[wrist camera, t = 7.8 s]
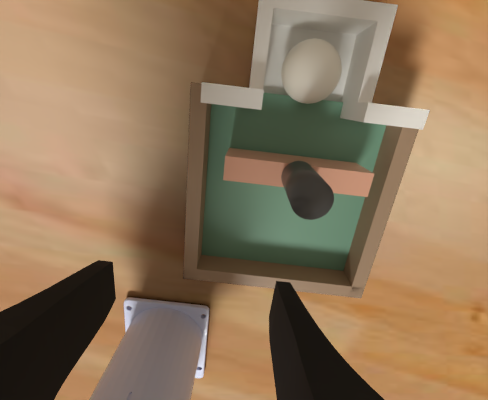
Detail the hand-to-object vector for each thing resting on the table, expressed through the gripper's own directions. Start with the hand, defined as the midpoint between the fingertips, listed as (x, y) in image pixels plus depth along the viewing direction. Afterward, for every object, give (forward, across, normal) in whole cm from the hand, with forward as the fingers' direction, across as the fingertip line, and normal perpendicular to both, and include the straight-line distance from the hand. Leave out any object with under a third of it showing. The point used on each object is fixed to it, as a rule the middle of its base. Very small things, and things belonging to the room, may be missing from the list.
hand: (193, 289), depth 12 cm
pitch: (+10, -5, -4) cm, 12 cm away
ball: (+8, -5, -10) cm, 14 cm away
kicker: (+9, -5, -4) cm, 11 cm away
